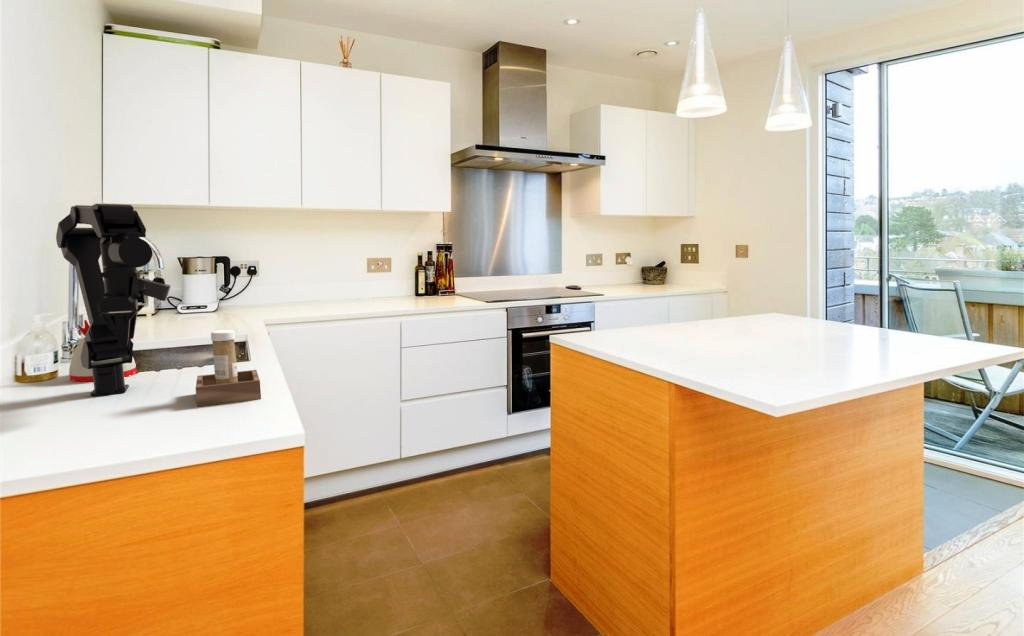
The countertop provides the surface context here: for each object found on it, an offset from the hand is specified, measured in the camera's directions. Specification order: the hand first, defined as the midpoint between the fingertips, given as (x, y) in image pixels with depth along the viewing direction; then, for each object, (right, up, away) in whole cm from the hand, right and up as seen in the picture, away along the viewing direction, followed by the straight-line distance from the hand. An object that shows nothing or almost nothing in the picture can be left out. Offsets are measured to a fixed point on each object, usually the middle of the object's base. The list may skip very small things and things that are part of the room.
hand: (127, 342), depth 119 cm
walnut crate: (+18, -12, +6) cm, 23 cm away
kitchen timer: (-24, -10, +27) cm, 38 cm away
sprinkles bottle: (+18, -11, +6) cm, 22 cm away
